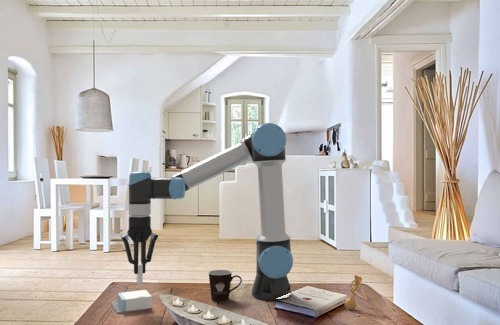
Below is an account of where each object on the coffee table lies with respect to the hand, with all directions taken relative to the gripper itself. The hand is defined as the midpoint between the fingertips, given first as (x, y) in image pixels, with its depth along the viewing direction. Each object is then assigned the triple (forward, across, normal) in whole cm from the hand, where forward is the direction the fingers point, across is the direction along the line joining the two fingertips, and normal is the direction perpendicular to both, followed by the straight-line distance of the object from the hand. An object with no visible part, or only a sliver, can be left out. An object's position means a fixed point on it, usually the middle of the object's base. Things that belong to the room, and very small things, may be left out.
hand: (139, 282), depth 164 cm
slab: (+6, -3, 0) cm, 7 cm away
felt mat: (+8, +3, -2) cm, 9 cm away
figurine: (+9, -66, +35) cm, 75 cm away
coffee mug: (+9, -30, +5) cm, 32 cm away
